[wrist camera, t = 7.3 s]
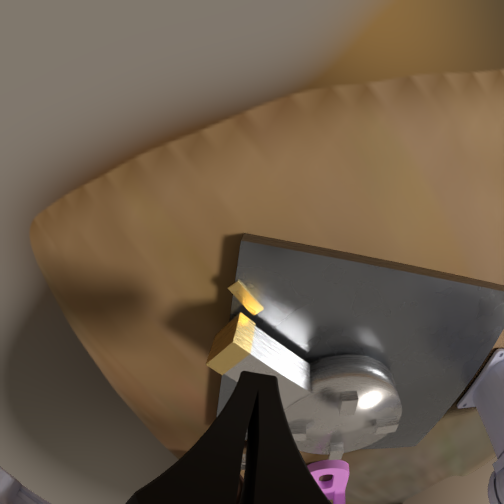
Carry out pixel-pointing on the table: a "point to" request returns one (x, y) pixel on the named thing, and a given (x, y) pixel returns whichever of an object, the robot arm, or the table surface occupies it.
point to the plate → (371, 321)
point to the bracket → (339, 479)
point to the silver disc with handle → (315, 389)
